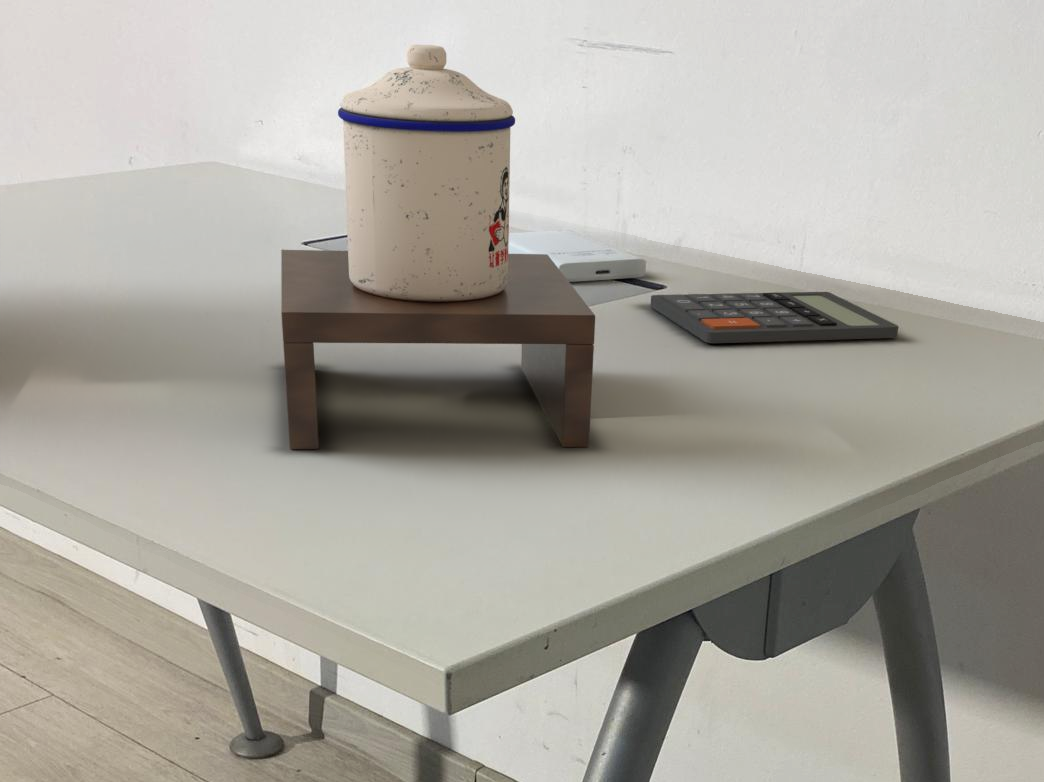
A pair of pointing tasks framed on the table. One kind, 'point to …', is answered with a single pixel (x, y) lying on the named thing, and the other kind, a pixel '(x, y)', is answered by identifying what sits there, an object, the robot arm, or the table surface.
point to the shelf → (441, 332)
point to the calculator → (771, 317)
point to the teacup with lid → (427, 183)
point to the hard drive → (578, 255)
